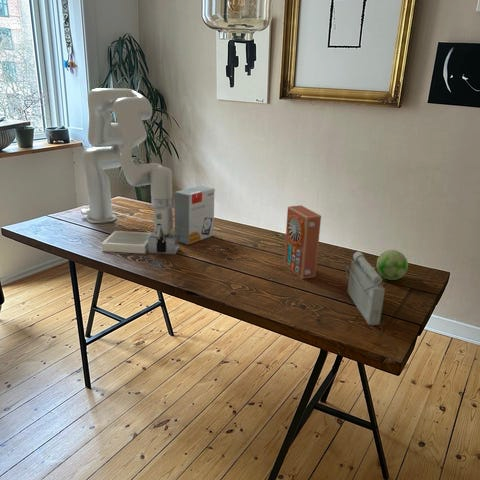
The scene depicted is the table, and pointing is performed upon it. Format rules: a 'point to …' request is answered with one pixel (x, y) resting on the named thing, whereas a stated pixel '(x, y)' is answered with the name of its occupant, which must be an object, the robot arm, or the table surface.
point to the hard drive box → (194, 214)
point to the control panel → (302, 241)
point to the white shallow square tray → (126, 242)
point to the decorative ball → (392, 264)
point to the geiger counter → (365, 288)
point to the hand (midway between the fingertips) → (163, 248)
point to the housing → (170, 241)
